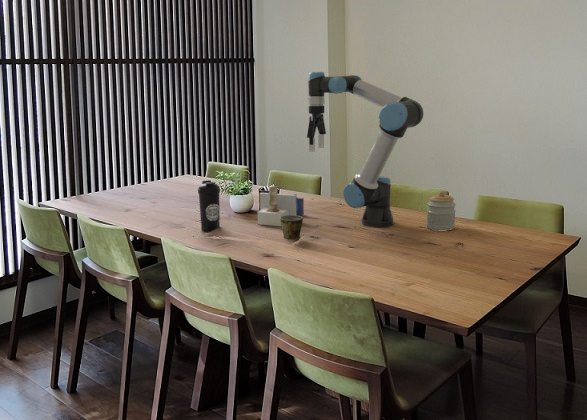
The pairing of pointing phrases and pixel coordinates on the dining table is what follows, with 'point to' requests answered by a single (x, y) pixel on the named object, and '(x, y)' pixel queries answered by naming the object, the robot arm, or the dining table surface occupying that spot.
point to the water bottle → (209, 205)
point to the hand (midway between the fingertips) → (316, 149)
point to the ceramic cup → (291, 226)
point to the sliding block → (271, 216)
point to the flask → (299, 206)
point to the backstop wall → (280, 202)
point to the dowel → (272, 198)
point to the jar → (441, 212)
